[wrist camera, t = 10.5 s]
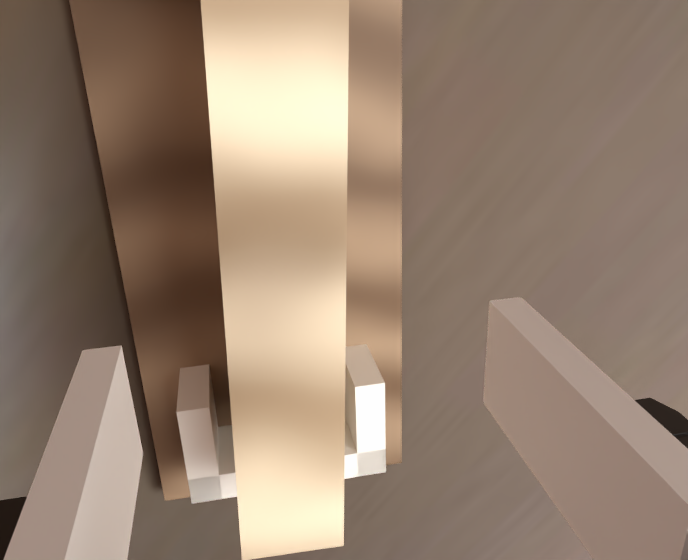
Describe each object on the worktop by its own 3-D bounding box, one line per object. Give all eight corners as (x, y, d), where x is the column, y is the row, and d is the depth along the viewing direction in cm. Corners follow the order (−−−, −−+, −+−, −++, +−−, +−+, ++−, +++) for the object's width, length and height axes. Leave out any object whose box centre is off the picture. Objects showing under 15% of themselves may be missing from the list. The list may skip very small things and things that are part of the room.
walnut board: (395, 447, 39) (401, 462, 38) (166, 483, 37) (164, 500, 36) (392, -280, 25) (402, -297, 24) (20, -295, 23) (9, -314, 22)
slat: (305, 394, 35) (343, 545, 25) (232, 401, 34) (242, 560, 24) (296, -107, 26) (350, -183, 16) (195, -111, 25) (185, -194, 15)
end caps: (368, 426, 37) (385, 472, 33) (193, 453, 35) (191, 503, 31) (353, -202, 25) (377, -239, 21) (87, -206, 23) (64, -247, 19)
